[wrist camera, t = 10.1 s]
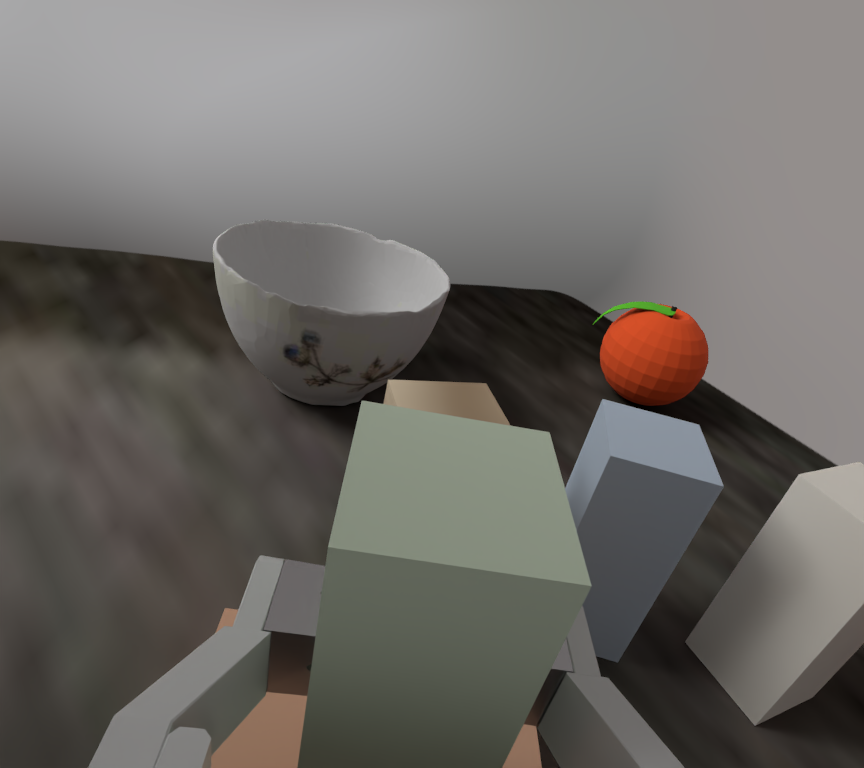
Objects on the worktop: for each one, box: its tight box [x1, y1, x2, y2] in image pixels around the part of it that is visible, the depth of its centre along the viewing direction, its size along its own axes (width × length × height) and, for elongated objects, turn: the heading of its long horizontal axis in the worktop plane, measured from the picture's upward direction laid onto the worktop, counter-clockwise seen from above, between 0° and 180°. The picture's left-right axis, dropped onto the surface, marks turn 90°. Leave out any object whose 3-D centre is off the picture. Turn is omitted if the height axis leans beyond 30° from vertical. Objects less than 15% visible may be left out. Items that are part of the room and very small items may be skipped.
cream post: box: [685, 462, 864, 726], centre depth 21 cm, size 4×4×9 cm
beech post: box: [384, 380, 511, 426], centre depth 20 cm, size 4×4×9 cm
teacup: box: [213, 220, 450, 406], centre depth 34 cm, size 15×12×8 cm
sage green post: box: [297, 401, 591, 768], centre depth 11 cm, size 4×4×9 cm
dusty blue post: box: [565, 399, 724, 663], centre depth 21 cm, size 4×4×9 cm
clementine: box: [592, 302, 708, 406], centre depth 39 cm, size 8×7×7 cm
